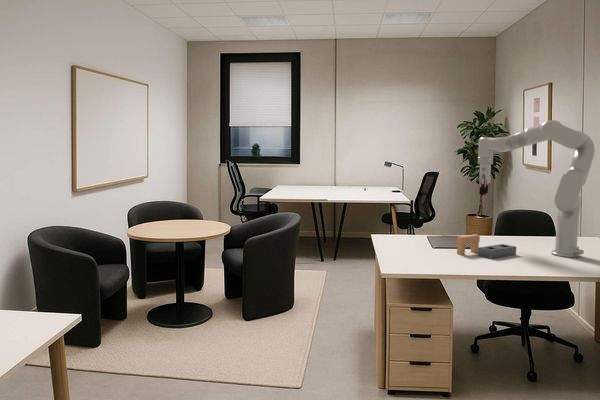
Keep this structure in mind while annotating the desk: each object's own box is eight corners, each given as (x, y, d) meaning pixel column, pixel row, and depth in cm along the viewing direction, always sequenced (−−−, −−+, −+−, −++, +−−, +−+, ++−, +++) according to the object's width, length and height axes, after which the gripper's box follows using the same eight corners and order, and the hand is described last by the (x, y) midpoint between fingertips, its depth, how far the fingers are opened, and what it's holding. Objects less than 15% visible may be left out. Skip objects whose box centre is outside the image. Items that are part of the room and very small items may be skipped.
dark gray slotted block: (516, 254, 273) (516, 246, 272) (491, 258, 263) (492, 250, 262) (501, 251, 279) (502, 243, 279) (477, 255, 270) (478, 247, 269)
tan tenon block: (478, 252, 278) (479, 235, 277) (461, 254, 271) (461, 237, 270) (474, 251, 281) (474, 234, 280) (456, 253, 274) (457, 236, 273)
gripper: (491, 162, 285) (489, 195, 287) (494, 160, 300) (492, 192, 302) (475, 161, 288) (474, 194, 290) (479, 160, 303) (478, 192, 305)
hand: (483, 193), depth 296 cm, fingers open, 9 cm apart
